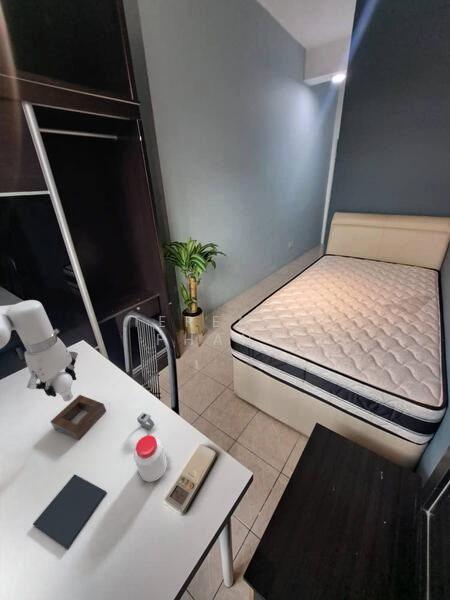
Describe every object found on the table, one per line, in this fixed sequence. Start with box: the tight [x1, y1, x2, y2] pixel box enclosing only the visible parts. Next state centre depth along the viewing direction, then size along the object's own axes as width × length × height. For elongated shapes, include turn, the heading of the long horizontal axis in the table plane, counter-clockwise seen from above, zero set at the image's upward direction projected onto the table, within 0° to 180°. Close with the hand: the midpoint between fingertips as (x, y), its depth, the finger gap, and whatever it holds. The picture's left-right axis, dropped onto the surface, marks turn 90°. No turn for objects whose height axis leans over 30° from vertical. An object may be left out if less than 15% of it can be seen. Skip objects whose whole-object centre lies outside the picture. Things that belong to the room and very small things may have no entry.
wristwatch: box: [137, 412, 155, 430], centre depth 83 cm, size 6×3×5 cm, turn 65°
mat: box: [32, 474, 108, 550], centre depth 64 cm, size 12×12×1 cm
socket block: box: [50, 394, 107, 441], centre depth 86 cm, size 12×12×4 cm
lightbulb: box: [50, 371, 74, 402], centre depth 79 cm, size 6×6×11 cm
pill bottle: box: [133, 434, 168, 483], centre depth 70 cm, size 8×8×11 cm
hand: (62, 386), depth 79 cm, fingers closed on lightbulb, 6 cm apart
